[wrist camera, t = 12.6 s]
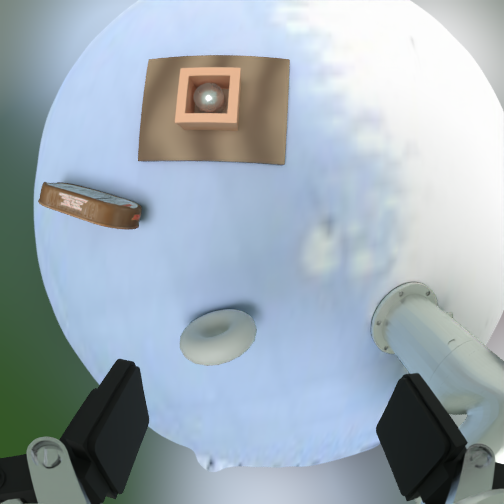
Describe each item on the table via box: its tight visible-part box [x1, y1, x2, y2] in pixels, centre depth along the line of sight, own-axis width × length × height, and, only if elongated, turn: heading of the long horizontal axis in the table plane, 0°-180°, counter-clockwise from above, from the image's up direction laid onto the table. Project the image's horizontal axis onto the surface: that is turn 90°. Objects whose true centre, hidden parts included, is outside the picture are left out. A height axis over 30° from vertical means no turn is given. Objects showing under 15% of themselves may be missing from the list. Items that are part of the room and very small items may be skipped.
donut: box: [180, 309, 257, 366], centre depth 34 cm, size 10×4×10 cm, turn 105°
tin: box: [38, 182, 142, 229], centre depth 31 cm, size 15×3×8 cm, turn 72°
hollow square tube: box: [175, 67, 241, 131], centre depth 28 cm, size 6×6×5 cm
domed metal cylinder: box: [193, 83, 226, 113], centre depth 29 cm, size 3×3×4 cm
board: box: [138, 55, 290, 165], centre depth 31 cm, size 18×14×2 cm
